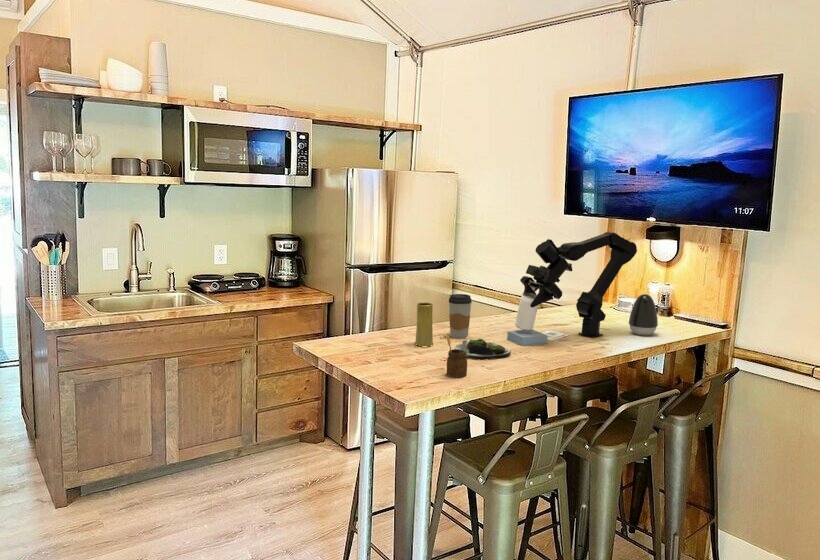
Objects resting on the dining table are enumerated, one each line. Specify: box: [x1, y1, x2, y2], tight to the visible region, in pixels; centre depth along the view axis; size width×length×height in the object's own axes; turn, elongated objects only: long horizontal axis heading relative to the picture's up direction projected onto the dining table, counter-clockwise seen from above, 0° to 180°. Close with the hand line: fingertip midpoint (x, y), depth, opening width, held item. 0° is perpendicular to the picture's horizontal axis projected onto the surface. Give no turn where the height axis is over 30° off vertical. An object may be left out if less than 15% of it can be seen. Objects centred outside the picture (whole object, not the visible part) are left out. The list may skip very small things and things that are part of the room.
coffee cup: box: [448, 293, 473, 339], centre depth 232 cm, size 8×8×15 cm
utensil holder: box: [445, 333, 468, 378], centre depth 187 cm, size 6×6×12 cm
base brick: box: [506, 329, 548, 347], centre depth 228 cm, size 10×10×3 cm
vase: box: [414, 302, 434, 347], centre depth 220 cm, size 6×6×14 cm
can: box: [514, 292, 539, 330], centre depth 227 cm, size 6×6×12 cm
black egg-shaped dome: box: [628, 293, 659, 336], centre depth 241 cm, size 10×10×15 cm
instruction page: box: [541, 330, 570, 341], centre depth 237 cm, size 12×9×1 cm
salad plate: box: [454, 338, 511, 361], centre depth 213 cm, size 19×18×5 cm
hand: (525, 305), depth 225 cm, fingers closed on can, 6 cm apart
